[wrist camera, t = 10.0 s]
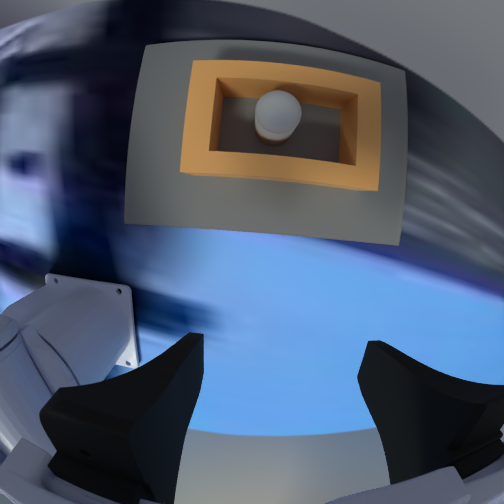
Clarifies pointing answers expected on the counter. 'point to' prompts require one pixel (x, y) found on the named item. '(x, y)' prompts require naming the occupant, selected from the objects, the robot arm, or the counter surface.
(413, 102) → the counter surface
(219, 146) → the keeper plate
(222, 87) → the orange rectangular frame
